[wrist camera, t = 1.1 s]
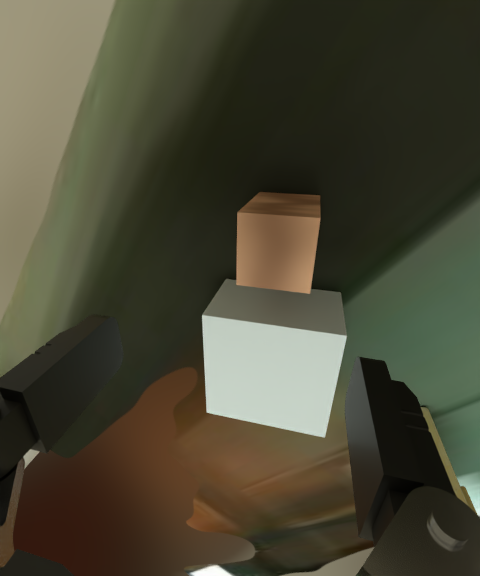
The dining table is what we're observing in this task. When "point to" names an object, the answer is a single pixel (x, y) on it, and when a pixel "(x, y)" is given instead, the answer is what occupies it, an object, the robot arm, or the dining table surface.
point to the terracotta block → (278, 241)
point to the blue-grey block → (273, 355)
